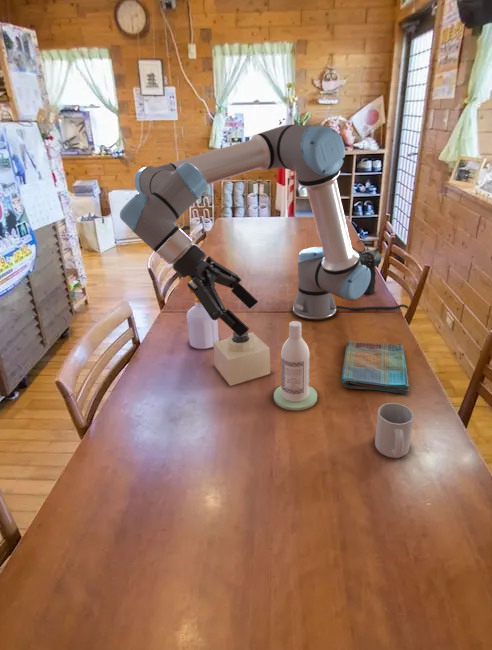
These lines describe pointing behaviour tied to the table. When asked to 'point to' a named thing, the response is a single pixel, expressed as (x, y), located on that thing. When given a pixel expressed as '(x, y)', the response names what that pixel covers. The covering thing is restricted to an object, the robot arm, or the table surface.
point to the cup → (393, 429)
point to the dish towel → (375, 367)
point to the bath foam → (295, 365)
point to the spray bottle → (201, 326)
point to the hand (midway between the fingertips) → (249, 318)
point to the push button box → (242, 359)
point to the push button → (240, 338)
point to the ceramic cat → (370, 264)
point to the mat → (295, 405)
